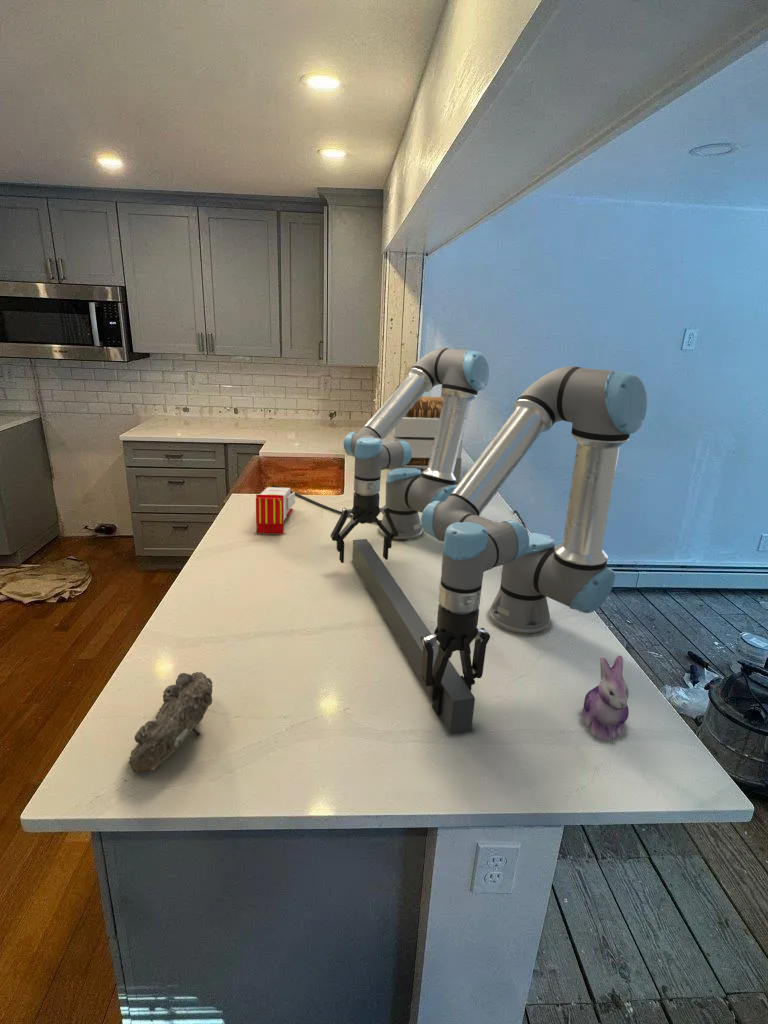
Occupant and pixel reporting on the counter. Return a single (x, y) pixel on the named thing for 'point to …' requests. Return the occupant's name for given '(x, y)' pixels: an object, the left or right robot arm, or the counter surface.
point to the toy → (273, 509)
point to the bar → (412, 635)
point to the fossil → (172, 721)
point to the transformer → (422, 432)
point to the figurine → (607, 702)
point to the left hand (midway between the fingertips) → (363, 559)
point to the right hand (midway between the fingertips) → (448, 709)
